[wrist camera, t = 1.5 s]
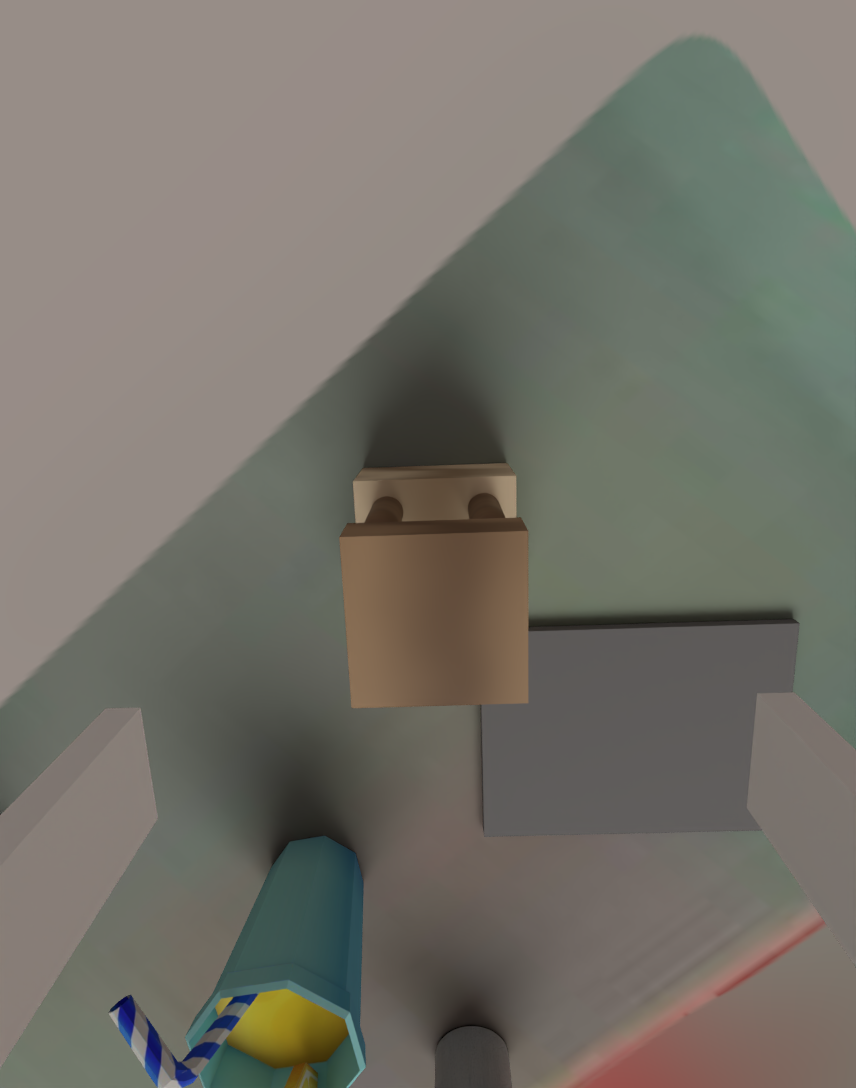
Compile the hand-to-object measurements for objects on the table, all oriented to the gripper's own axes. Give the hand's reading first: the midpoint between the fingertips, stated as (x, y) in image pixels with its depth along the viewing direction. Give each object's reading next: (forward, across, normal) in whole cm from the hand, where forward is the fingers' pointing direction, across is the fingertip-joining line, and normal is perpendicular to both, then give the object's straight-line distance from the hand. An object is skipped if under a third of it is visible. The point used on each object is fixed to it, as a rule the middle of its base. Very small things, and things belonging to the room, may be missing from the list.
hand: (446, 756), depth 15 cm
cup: (+20, -8, -19) cm, 29 cm away
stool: (+16, 0, 0) cm, 16 cm away
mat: (+20, +10, -11) cm, 25 cm away
